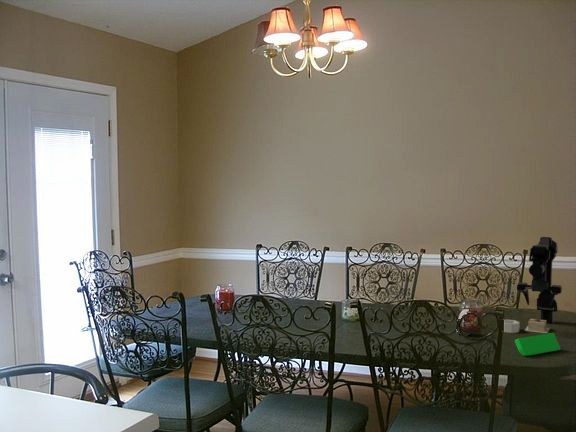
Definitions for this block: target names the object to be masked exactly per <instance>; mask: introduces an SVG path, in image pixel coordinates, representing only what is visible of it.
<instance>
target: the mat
mask: <svg viewBox="0 0 576 432" xmlns="http://www.w3.org/2000/svg"><path fill="white" fill-rule="evenodd" d="M550 329H551V328H550V327H546V330H545V332H540V331H531V330H528V325H527V326H526V328H525V329H524V331H525V332H533V333H542V334H549V332H550Z"/></svg>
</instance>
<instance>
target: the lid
mask: <svg viewBox="0 0 576 432" xmlns="http://www.w3.org/2000/svg"><path fill="white" fill-rule="evenodd" d="M527 326H528V330H531V331H530V332H532V331H540V332H545V330H546V328H547V323H546V320H540V318H530V319H529V320H528V325H527ZM540 332H539V333H540Z"/></svg>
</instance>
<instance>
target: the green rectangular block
mask: <svg viewBox="0 0 576 432" xmlns="http://www.w3.org/2000/svg"><path fill="white" fill-rule="evenodd" d="M513 341H514V342H515V345H516V348H517V350H518V352H519V354H520V355H522V356H523V357H529V356H536V355H540V354H545V353H552V352H557V351H560V350H561V347H560V343H559V342H558V340H557V337H556V335H555V332H550V333H549V332H548V333H542V334H539V335H531V336H525V337H519V338H517V339H514V340H513Z"/></svg>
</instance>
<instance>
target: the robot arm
mask: <svg viewBox="0 0 576 432" xmlns="http://www.w3.org/2000/svg"><path fill="white" fill-rule="evenodd" d="M558 248H559V247H558V243H557V242H556V241H555V240H553V238H552V237H550V236H541V237H540V238H539V241H538V244H534V245H532V247H530V250H529V251H530V252H529V258H528V261H529V262H532V263H531V265H530V266H529V268H528V272H529V275H531V276H532V280H531V284H528V282H518V283H517V284H516V290H517V291H519V292H520V293H522V294H523V296H524V299H525V302H526V304H527V306H530V295H529V290H531V292H540V293H539V294H538V295H537V297H538V298H536V310H537V311H540V316H539V317H540V318H539V319H540V320H546V324H550V325H553V324H554V323H555V320H553V319H554V313H556V312H558V302H557V300H556V299H555V298H556V297H555V296H558V295H559V294H562V292H563V286H562V285H561V284H552V283H553V282H552V280H553V261H554V260H555V258H556V257H557V254H558V250H559V249H558Z"/></svg>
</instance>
